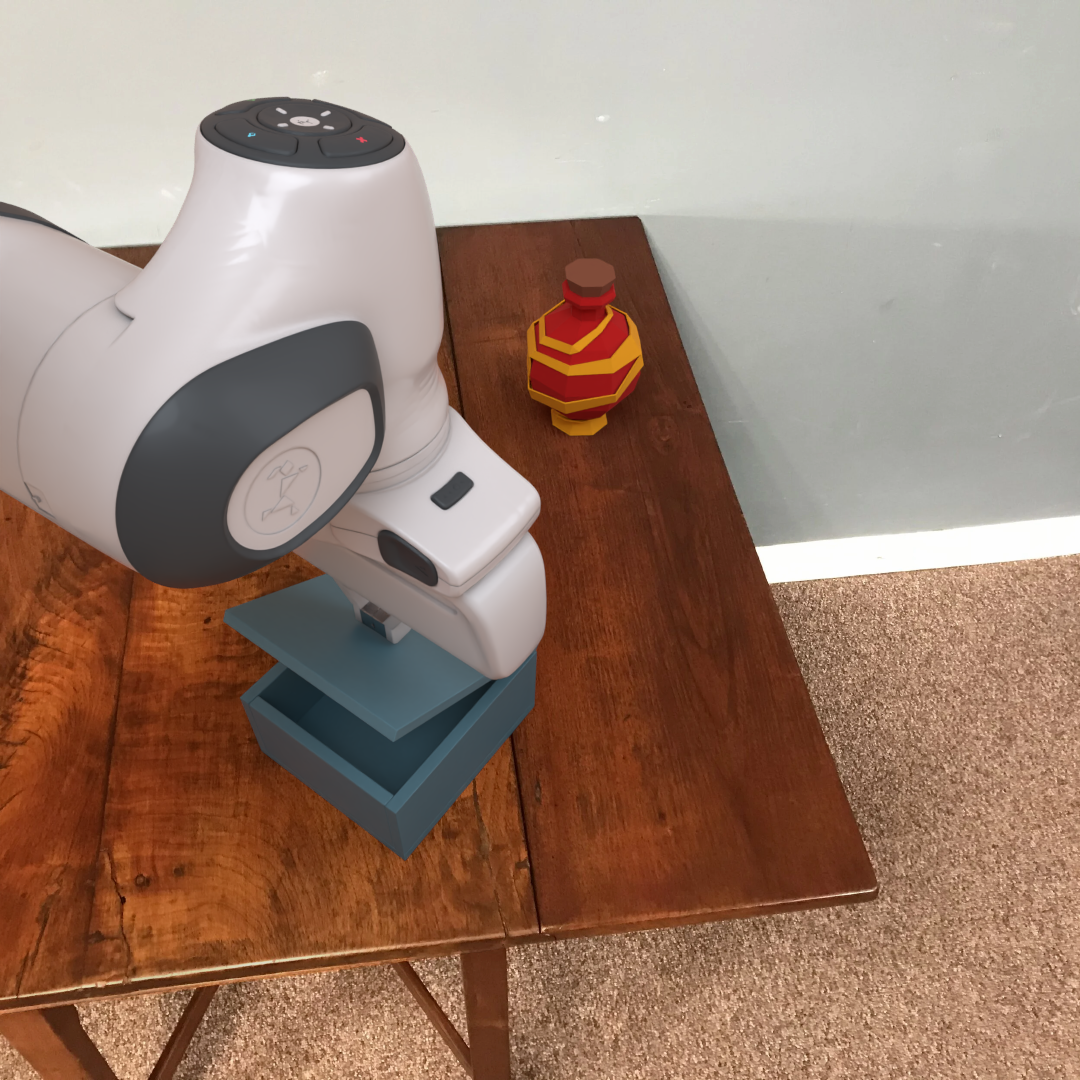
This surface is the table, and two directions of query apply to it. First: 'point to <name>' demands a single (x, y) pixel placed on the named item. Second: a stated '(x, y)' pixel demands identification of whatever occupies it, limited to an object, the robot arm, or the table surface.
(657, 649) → the table surface
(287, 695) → the chest
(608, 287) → the potion bottle
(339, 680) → the lid
